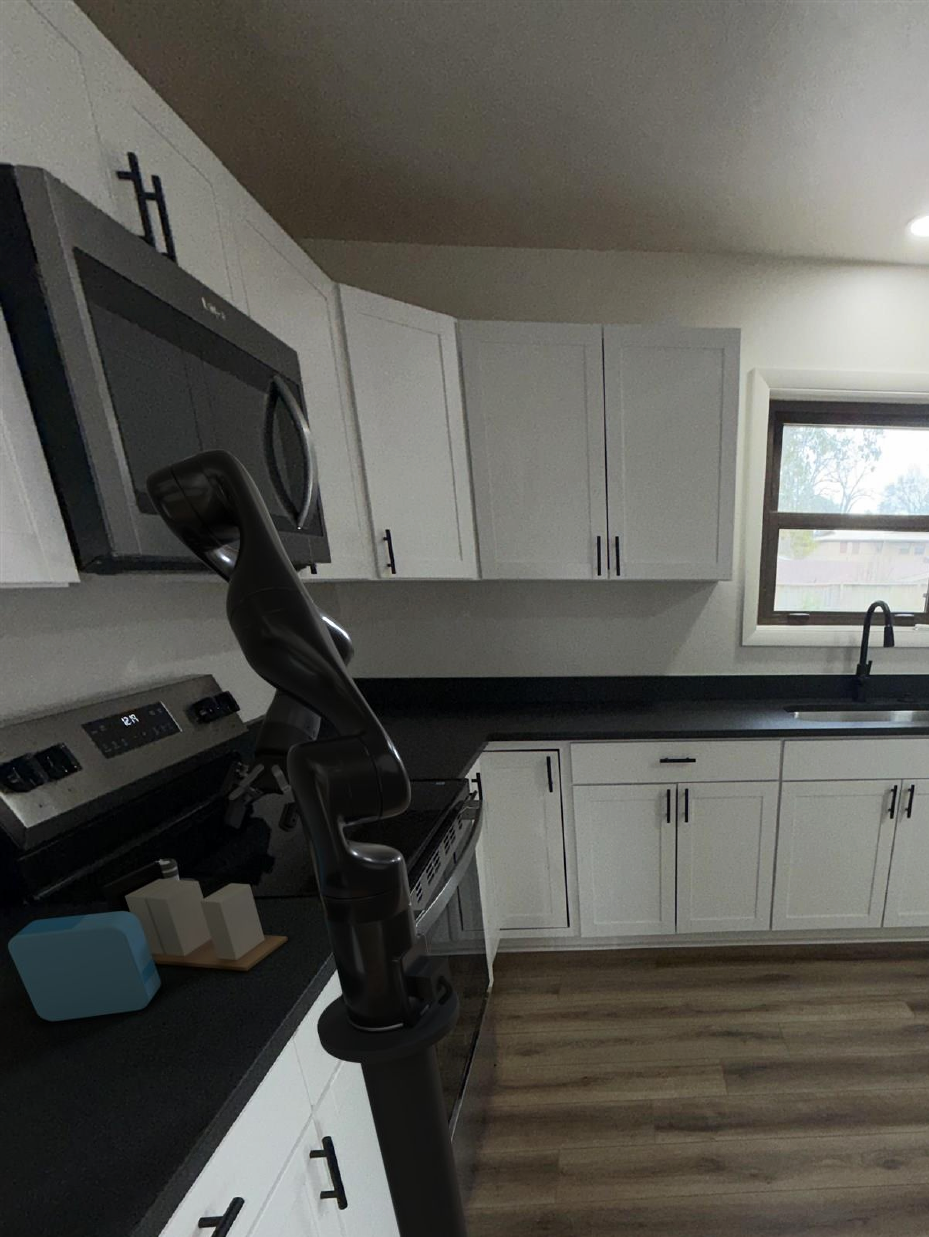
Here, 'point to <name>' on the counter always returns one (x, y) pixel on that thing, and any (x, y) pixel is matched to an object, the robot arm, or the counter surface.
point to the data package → (85, 965)
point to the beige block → (232, 921)
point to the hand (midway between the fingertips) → (258, 828)
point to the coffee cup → (171, 870)
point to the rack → (176, 920)
